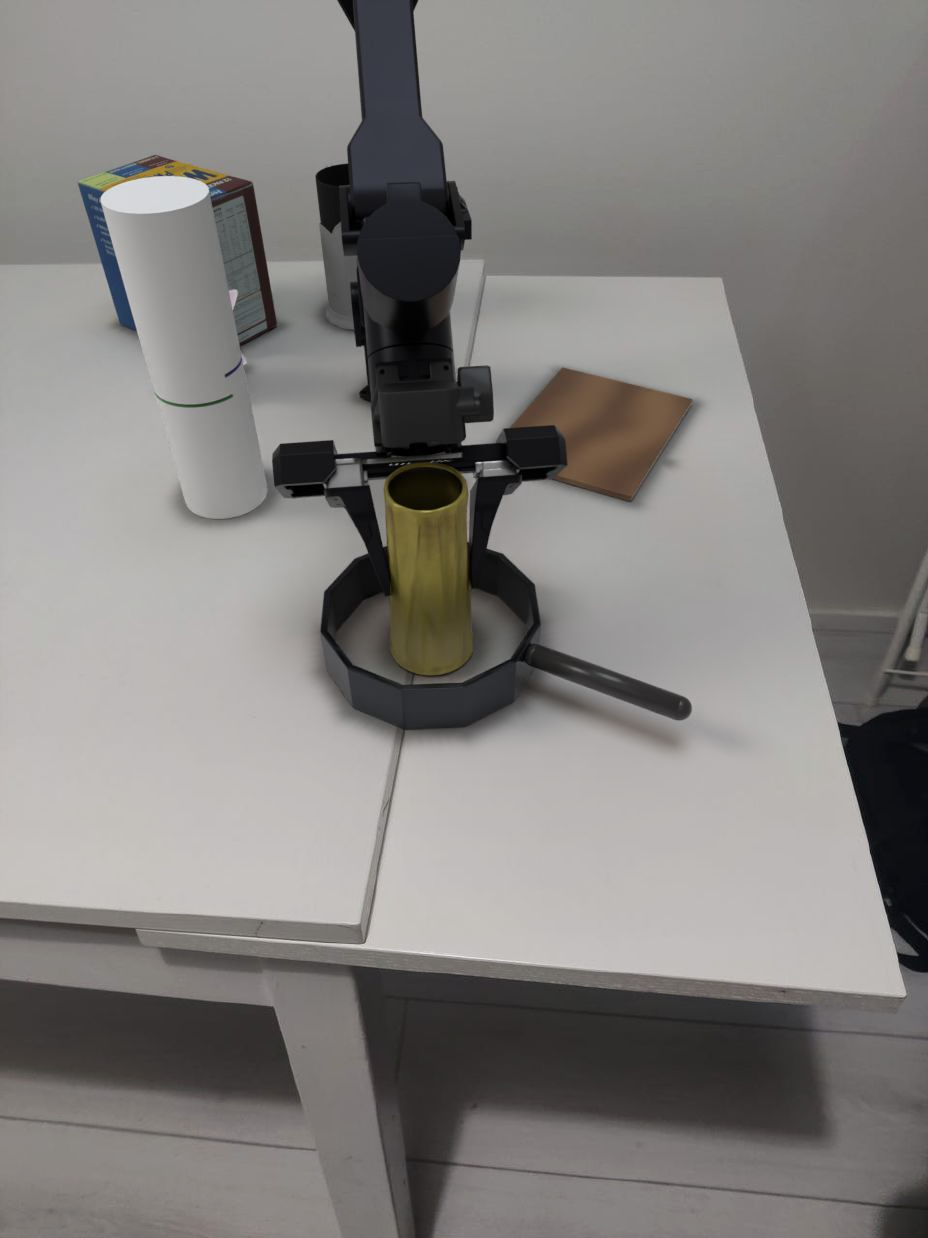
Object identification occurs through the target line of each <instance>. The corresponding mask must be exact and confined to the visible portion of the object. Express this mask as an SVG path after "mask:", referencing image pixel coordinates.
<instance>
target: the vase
mask: <svg viewBox="0 0 928 1238" xmlns="http://www.w3.org/2000/svg"><path fill="white" fill-rule="evenodd" d="M383 497H384V512H385V513H384V514H385V516H384V518H385V533H386V546H387V557H388V570H389V578H390V590H391V596H389V623H390V624H389V626H390V637H389V648H390V653H391V656H392V657H393V659H394V660H395V662H396V663H397V664H398V665H399V666H400V667H402V668H403V669H405V670H406V671H409V672H411V673H413V674H418V675H422V676H441V675H445V674H449V673H451V672H454V671H455V670H458V669H460V668H461V667H463V665H465V664H466V663H467V661H469V659H470V657H471V656H472V655H473V652H474V648H475V647H474V646H475V641H474V640H475V638H474V633H473V630H472V599H471V598H472V597H471V594H472V593H471V590H472V589H471V585H470V563H469V553H468V542H469V541H468V503H469V487H468V482H467V479H466V478H465V476H464V475H463V474H461V473H460V472H459V471H457V470H456V469H454V468H453V467H451V466H448V465H444V464H439V463H433V461H432V462H423V463H413V464H409V463H408V465H405V466H403V467H400V468H399V469H397V470H395V471H394V472H393V473H392V474H390V475H389V476H388V477H387V479H385V481H384V484H383Z"/></svg>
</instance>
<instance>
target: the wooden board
mask: <svg viewBox="0 0 928 1238" xmlns="http://www.w3.org/2000/svg"><path fill="white" fill-rule="evenodd" d="M693 400H694V399H693V398H690V397H686V396H683V395H677V394H673V393H669V392H665V391H661V390H658V389H652V388H649V387H644V386H640V385H637V384H633V383H629V382H625V381H620V380H615V379H612V378H608V377H604V376H599V375H595V374H592V373H587V372H583V371H579V370H575V369H571V368H567V367H561V368H560V370H558V372H556V374H555V375H554V376H553V377H552V379H551V380H550V381H549V382H548V383H547V384H546V386H545V387H544V388H543V389H542V390H541V392H539V393H538V395H537V396H536V397H535V398H534V399H533V400H532V402H531V403H530V404H529V405H528V406H527V407H526V409H525V410H524V411H523V412H522V413H521V414H520V415H519V417H518V418H517V419H516V420H515V421H514V422H513V423H512V424H511V426H510V427H509V428H517V427H531V426H546V425H555V426H556V427H557V428H558V429H559V430H560V431H561V432H562V433H563V435H564V438H565V441H566V453H567V464H568V466H566V467H565V468H564V469H563V470H562V471H561V472H560V473H559V474H558V475H556V476H555V477H554V478H552V479H551V480H554V481H558V482H562V483H565V484H569V485H571V486H575V487H579V488H581V489H586V490H589V491H591V492H596V493H599V494H603V495H606V496H610V497H613V498H616V499H620V500H622V501H623V500H624V501H627V502H632V500H633V499H634V497H635V495H636V494H637V492H638V491H639V490H640V488H641V486H642V484H643V483H644V481H645V480H646V478H647V477H648V475H649V473H650V471H651V470H652V468H653V467H654V466H655V464H656V462H657V460H658V459H659V457H660V456H661V454H662V452H663V451H664V449H665V448H666V447H667V444H668V443H669V442H670V440H671V438H672V436H673V435H674V434H675V432H676V430H677V429H678V427H679V426H680V424H681V422H682V421H683V419H684V417H685V416H686V414H687V413H688V412H689V409H690V408H691V406H692V405H693Z"/></svg>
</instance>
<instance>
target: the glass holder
mask: <svg viewBox="0 0 928 1238" xmlns="http://www.w3.org/2000/svg"><path fill="white" fill-rule="evenodd" d="M314 177H315V187H316V194H317V203H318V211H319V212H318V213H319V220H320V222H319V223H318V227H319V234H320V243H321V251H322V259H323V270H324V277H325V285H326V293H327V294H326V295H327V308H326V311H325V318H326V320H327V321H328V322H329V323H330V324H332V325H333V326H335V327H338V328H340V329H344V330H349V331H354V323H353V314H352V304H351V291H350V282H357V272H356V258H357V256H344V252H343V245H342V236H341V215H340V193H339V186H343V185H350V182H349V169H348V162H347V163H340V164H334V165H333V164H327V165H325V166H324V168H322V169H320V170H319V171H318V172H317V173H316V174H315V175H314Z"/></svg>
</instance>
